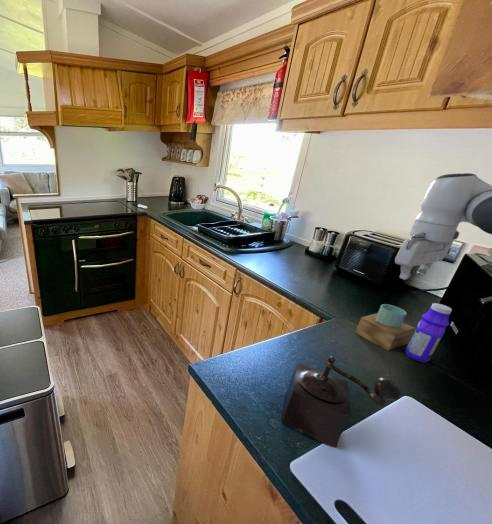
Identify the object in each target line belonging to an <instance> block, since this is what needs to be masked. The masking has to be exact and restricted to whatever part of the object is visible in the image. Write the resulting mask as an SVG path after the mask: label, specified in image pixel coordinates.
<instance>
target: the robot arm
mask: <svg viewBox="0 0 492 524" xmlns="http://www.w3.org/2000/svg"><path fill="white" fill-rule="evenodd" d="M460 223H468V224H471V225H472V226H475V227H477V228H479V230H481V231H482V232H484V233H486V234H489V235H492V184H490V183H487V181H484V180H483V179H481V178H480V177H479V176H478V175H477V174H476V173H470V172H469V173H467V172H465V173H464V172H463V173H461V172H460V173H448V174H442V175H439V176H438V177H436V178H435V179H434V180H432V182H431V184H430V185H429V187H428V189H427V190H426V193H425V194H424V197H423V199H422V201H421V204H420V211H419V213H418V214H417V216H416V217H415V219H414V220H413V224H412V226H411V229H410V231H409V234H408V235H409V236H410V237H409V238H407V239H405V240H404V241H403V242H402V244H401V246H400V248H399V250H398V252H397V254H396V256H395V258H394V263H395V264H396V265H398V266H400V274H399V278H400V279H402V280H403V281H404V280H408V279H410V277H411V276H412V274H411V270H412V269H413V268H414V267H416V266H419V268H417V269H416V272H415V274H416V275H418V276H425V275H427V272H428V271H429V270H430V269H431V267H432V266H433V265H434V263H438V262H441V261H443V259H445V257H446V256H447V255H448V253H449V251H450V249H451V247H452V246H453V243H454V241H455V240H457V239H458V238H459V236H460V231H458V230H457V229H458V227H459V225H460Z"/></svg>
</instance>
